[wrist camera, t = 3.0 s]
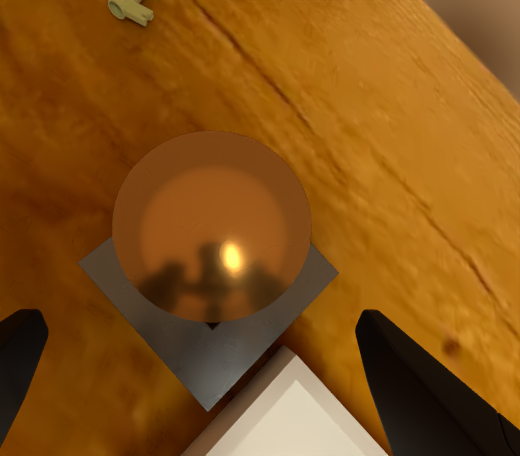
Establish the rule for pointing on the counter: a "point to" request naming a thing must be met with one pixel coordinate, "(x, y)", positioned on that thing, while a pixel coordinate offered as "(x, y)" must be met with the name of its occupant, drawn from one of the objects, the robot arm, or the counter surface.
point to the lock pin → (211, 226)
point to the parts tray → (284, 418)
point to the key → (130, 10)
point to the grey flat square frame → (206, 324)
